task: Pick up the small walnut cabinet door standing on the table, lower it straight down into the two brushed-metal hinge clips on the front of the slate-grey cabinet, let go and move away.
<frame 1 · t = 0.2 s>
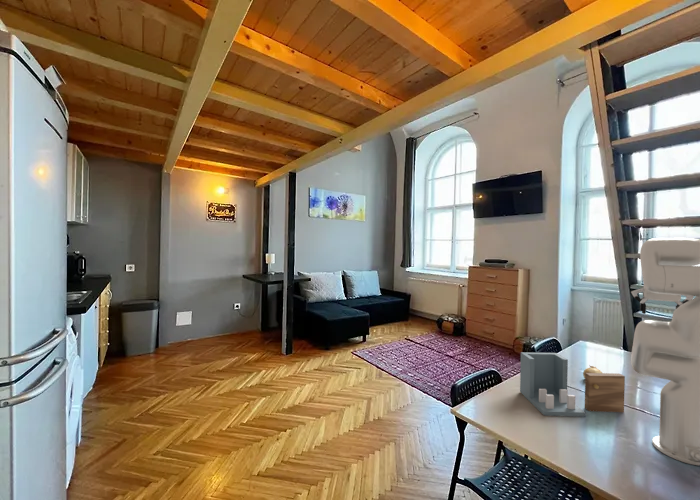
hand: (660, 314, 121), 37 cm above the table, tool pointing down, fingers open, 9 cm apart
door: (604, 410, 120), on the table
onion: (593, 382, 145), on the table
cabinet: (550, 403, 125), on the table
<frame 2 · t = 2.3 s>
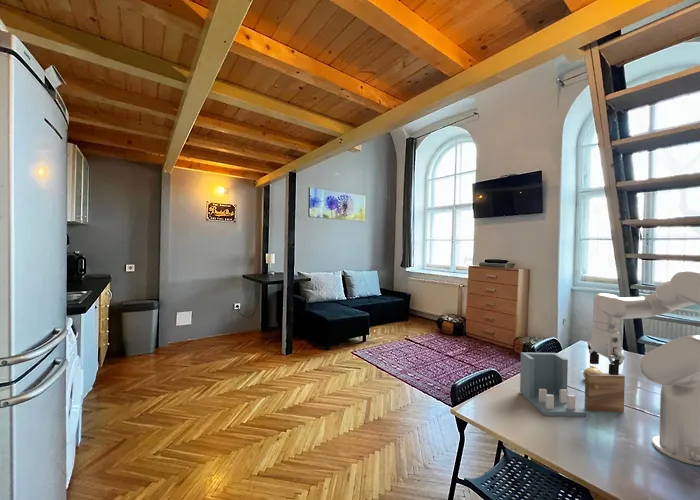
hand: (603, 369, 121), 16 cm above the table, tool pointing down, fingers open, 9 cm apart
nothing on the table moved.
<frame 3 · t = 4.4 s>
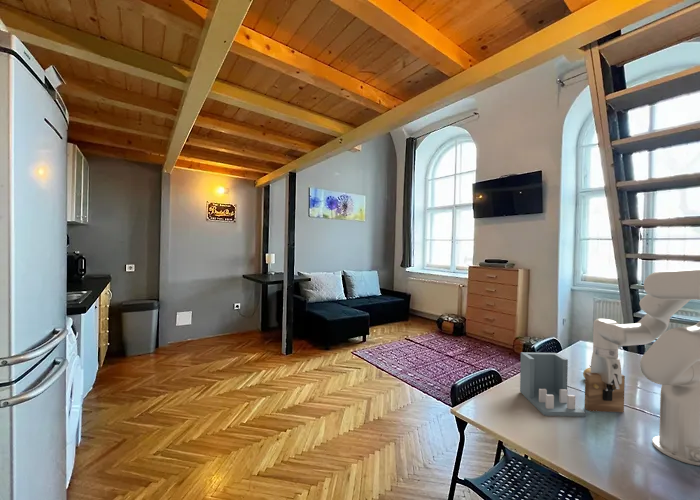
hand: (604, 397, 120), 5 cm above the table, tool pointing down, fingers closed on door, 2 cm apart
door: (603, 409, 120), on the table, touching gripper
everything else where it was.
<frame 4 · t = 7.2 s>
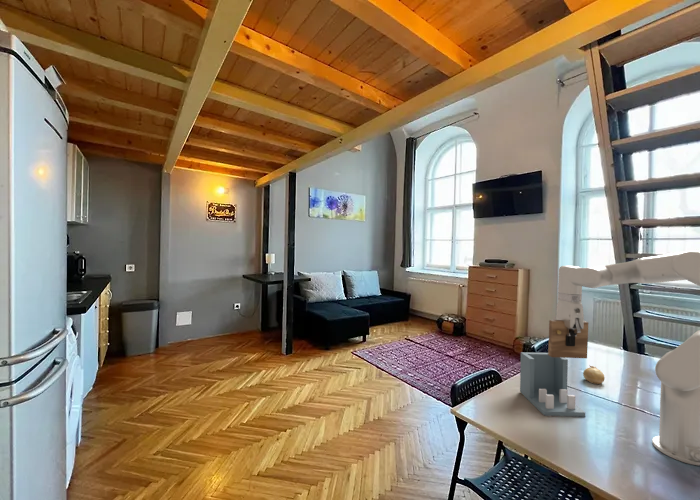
hand: (567, 344, 121), 25 cm above the table, tool pointing down, fingers closed on door, 2 cm apart
door: (567, 356, 121), point 21 cm above the table, touching gripper
everything else where it was.
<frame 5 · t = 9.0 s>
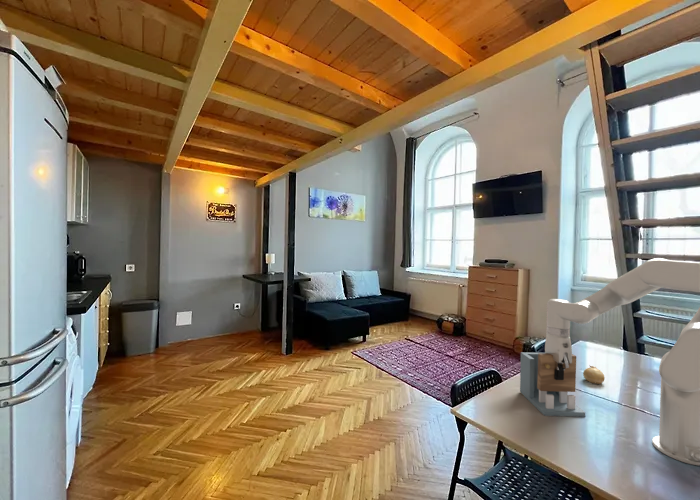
hand: (556, 377, 121), 12 cm above the table, tool pointing down, fingers closed on door, 2 cm apart
door: (556, 389, 121), point 7 cm above the table, touching gripper
everything else where it was.
when the fingers open (8 cm above the table, at t = 10.2 s): door drops 1 cm, resting on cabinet.
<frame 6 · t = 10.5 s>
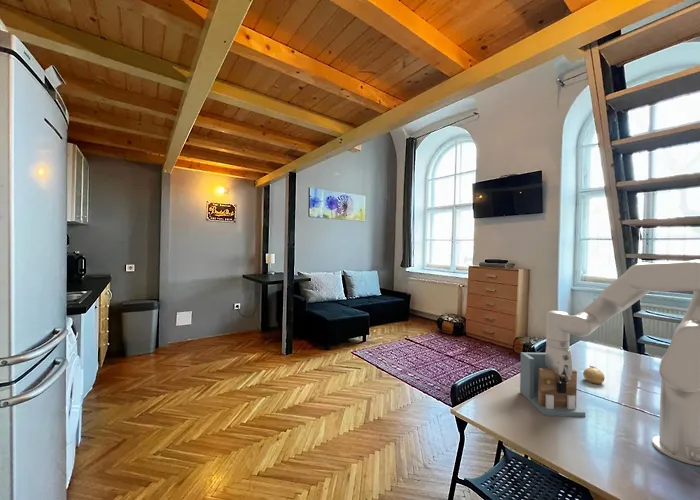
hand: (556, 388, 121), 8 cm above the table, tool pointing down, fingers open, 4 cm apart
door: (556, 405, 121), point 2 cm above the table, touching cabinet
everything else where it was.
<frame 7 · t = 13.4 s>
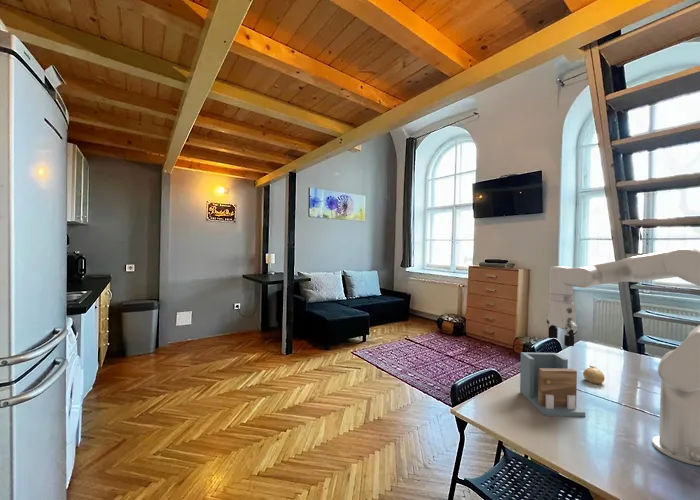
hand: (560, 341, 121), 26 cm above the table, tool pointing down, fingers open, 9 cm apart
nothing on the table moved.
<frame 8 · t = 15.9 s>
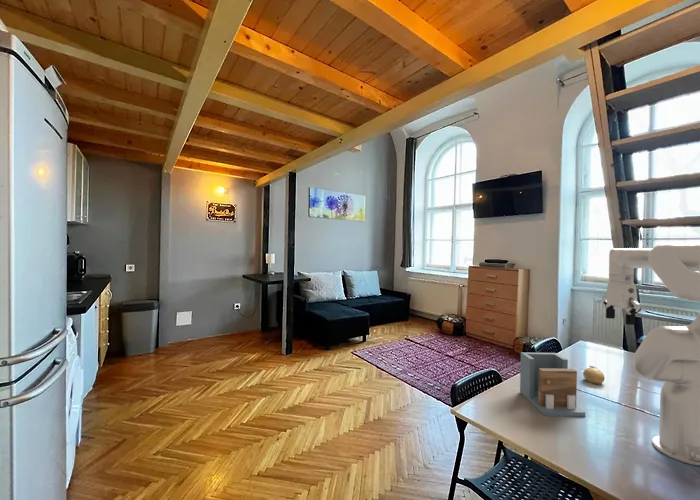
hand: (619, 321, 125), 33 cm above the table, tool pointing down, fingers open, 9 cm apart
nothing on the table moved.
at the end: door 0.1 cm from the target spot on the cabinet, point 1.5 cm above the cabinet's base; door tilted 0°; the gripper is holding nothing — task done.
